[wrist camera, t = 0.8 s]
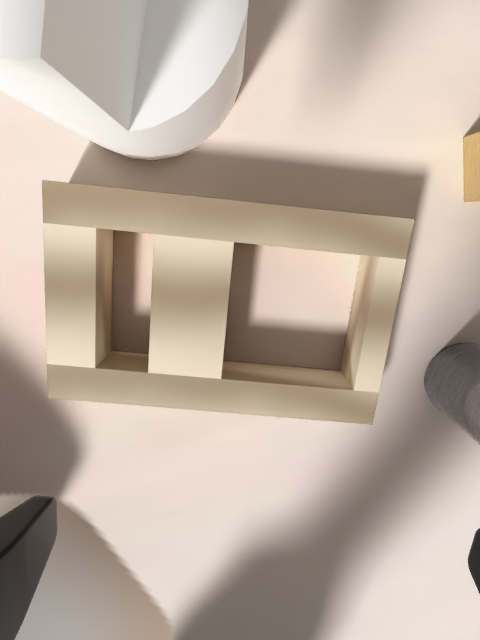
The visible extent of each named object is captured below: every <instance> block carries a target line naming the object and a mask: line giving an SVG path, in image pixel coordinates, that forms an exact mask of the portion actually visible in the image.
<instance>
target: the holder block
mask: <svg viewBox="0 0 480 640" xmlns="http://www.w3.org/2000/svg"><path fill="white" fill-rule="evenodd" d="M42 196H43V234H44V271H45V309H46V347H47V384H48V398H55V399H67V400H79V401H92V402H104V403H116V404H128V405H140V406H152V407H164V408H177V409H189V410H201V411H213V412H225V413H237V414H250V415H262V416H274V417H286V418H298V419H310V420H323V421H335V422H347V423H359V424H371V425H372V424H373V419H374V414H375V409H376V404H377V400H378V395H379V390H380V385H381V380H382V375H383V371H384V366H385V361H386V356H387V351H388V346H389V341H390V337H391V332H392V327H393V322H394V317H395V312H396V308H397V303H398V298H399V293H400V288H401V283H402V278H403V274H404V269H405V264H406V259H407V254H408V249H409V245H410V240H411V235H412V230H413V225H414V220H415V219H407V218H398V217H388V216H379V215H369V214H360V213H350V212H341V211H331V210H322V209H312V208H303V207H293V206H284V205H274V204H265V203H255V202H246V201H236V200H227V199H217V198H208V197H198V196H189V195H179V194H170V193H161V192H151V191H142V190H132V189H123V188H113V187H104V186H94V185H85V184H75V183H66V182H56V181H47V180H42ZM113 230H119V231H129V232H139V233H149V234H154V247H153V270H152V293H151V316H150V339H149V354H141V353H130V352H118V351H111V332H112V275H113ZM234 242H238V243H248V244H258V245H268V246H278V247H288V248H297V249H307V250H317V251H327V252H337V253H347V254H357V255H361V256H360V261H359V267H358V273H357V278H356V284H355V290H354V295H353V301H352V307H351V312H350V318H349V324H348V329H347V335H346V341H345V346H344V352H343V358H342V363H341V369H340V371H335V370H323V369H312V368H301V367H289V366H278V365H266V364H255V363H244V362H232V361H223V354H224V343H225V333H226V322H227V312H228V301H229V290H230V280H231V269H232V259H233V248H234Z"/></svg>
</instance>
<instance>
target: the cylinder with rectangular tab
mask: <svg viewBox="0 0 480 640" xmlns="http://www.w3.org/2000/svg"><path fill="white" fill-rule="evenodd" d="M248 4H249V0H0V90H1V91H2V92H4V93H6V94H8V95H10V96H11V97H13V98H15V99H17V100H19V101H20V102H22V103H24V104H26V105H28V106H29V107H31V108H33V109H35V110H37V111H39V112H40V113H42V114H44V115H46V116H48V117H49V118H51V119H53V120H55V121H57V122H58V123H60V124H62V125H64V126H66V127H67V128H69V129H71V130H73V131H75V132H76V133H78V134H80V135H82V136H84V137H85V138H87V139H89V140H91V141H93V142H95V143H96V144H98V145H100V146H102V147H104V148H105V149H108V150H110V151H113V152H116V153H118V154H121V155H123V156H126V157H128V158H135V159H145V160H159V159H165V158H171V157H176V156H180V155H182V154H184V153H186V152H188V151H190V150H192V149H194V148H196V147H198V146H200V145H201V144H202V143H203V142H204V141H206V140H207V139H208V138H209V137H210V136H211V135H212V134H213V133H214V132H216V131H217V130H218V129H219V128H220V126H221V125H222V123H223V122H224V120H225V118H226V117H227V115H228V114H229V112H230V111H231V109H232V108H233V106H234V104H235V101H236V98H237V95H238V92H239V89H240V86H241V83H242V80H243V70H244V59H245V46H246V32H247V18H248Z"/></svg>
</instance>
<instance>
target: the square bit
mask: <svg viewBox="0 0 480 640" xmlns="http://www.w3.org/2000/svg"><path fill="white" fill-rule="evenodd" d="M463 160H464V202H475V201H480V132H477V133H474V134H471V135H469V136H466V137H463Z"/></svg>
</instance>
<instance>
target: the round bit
mask: <svg viewBox="0 0 480 640" xmlns="http://www.w3.org/2000/svg"><path fill="white" fill-rule="evenodd" d="M424 385H425V390H426V393H427V395H428V396H429V398H430V399H431V400H432V401H433V402H434V403H435V404H436V405H437V406H438V407H439V408H440V409H441V410H443V411H444V412H445V413H446V414H447V415H448V416H449V417H450V418H451V419H452V420H453V421H455V422H456V423H457V424H458V425H459V426H460V427H461V428H462V429H463V430H464V431H466V432H467V433H468V434H469V435H470V436H471V437H472V438H473V439H474V440H475V441H476V442H478V443H479V444H480V346H479V345H476V344H472V343H459V344H455V345H452V346H449V347H447V348H445V349H443V350H442V351H440V352H439V353H438V354H437V355H436V356H435V357H434V358H433V359H432V361H431V362H430V364H429V365H428V367H427V369H426V373H425V377H424Z"/></svg>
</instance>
